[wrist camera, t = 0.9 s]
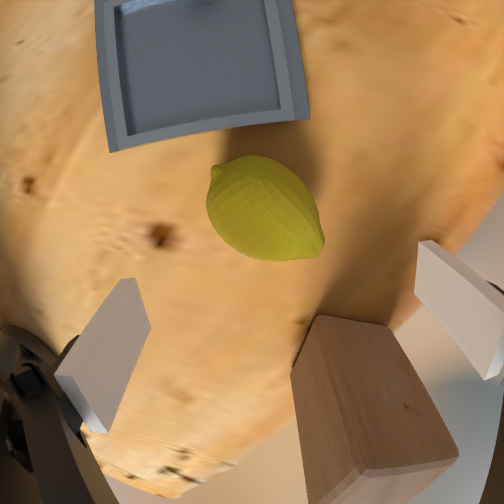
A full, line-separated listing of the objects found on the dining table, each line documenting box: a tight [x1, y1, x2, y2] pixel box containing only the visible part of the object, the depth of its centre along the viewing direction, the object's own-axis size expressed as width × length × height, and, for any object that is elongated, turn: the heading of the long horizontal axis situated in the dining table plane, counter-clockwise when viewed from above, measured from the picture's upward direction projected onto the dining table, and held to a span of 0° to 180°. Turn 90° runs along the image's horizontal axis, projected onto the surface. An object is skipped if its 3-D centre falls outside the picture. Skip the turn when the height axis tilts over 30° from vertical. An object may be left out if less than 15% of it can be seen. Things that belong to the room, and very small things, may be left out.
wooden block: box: [290, 315, 459, 504], centre depth 27 cm, size 10×10×20 cm
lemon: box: [206, 155, 325, 261], centre depth 25 cm, size 11×8×8 cm
